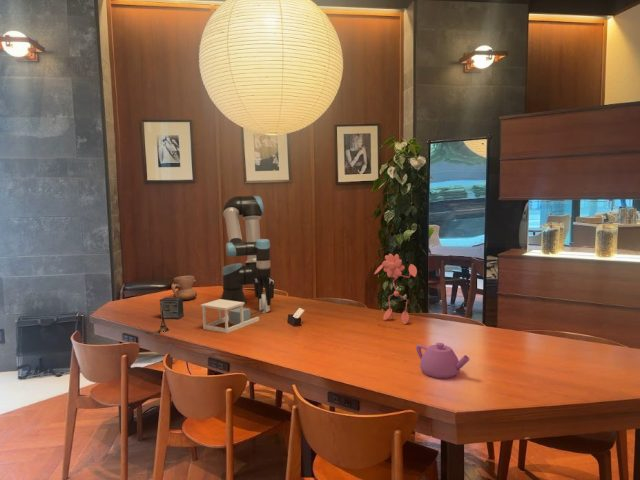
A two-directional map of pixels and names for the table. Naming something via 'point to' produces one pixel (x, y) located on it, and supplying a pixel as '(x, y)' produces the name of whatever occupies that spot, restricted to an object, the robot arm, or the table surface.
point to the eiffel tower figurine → (161, 326)
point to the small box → (171, 308)
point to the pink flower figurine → (395, 269)
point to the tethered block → (245, 312)
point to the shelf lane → (225, 306)
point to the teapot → (440, 361)
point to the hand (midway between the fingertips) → (264, 310)
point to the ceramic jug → (184, 288)
